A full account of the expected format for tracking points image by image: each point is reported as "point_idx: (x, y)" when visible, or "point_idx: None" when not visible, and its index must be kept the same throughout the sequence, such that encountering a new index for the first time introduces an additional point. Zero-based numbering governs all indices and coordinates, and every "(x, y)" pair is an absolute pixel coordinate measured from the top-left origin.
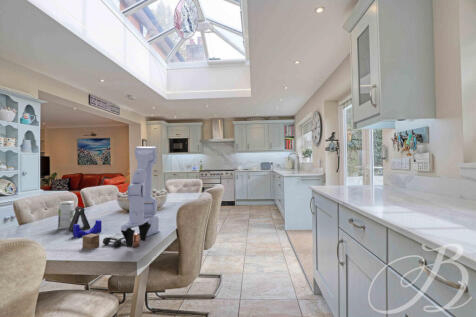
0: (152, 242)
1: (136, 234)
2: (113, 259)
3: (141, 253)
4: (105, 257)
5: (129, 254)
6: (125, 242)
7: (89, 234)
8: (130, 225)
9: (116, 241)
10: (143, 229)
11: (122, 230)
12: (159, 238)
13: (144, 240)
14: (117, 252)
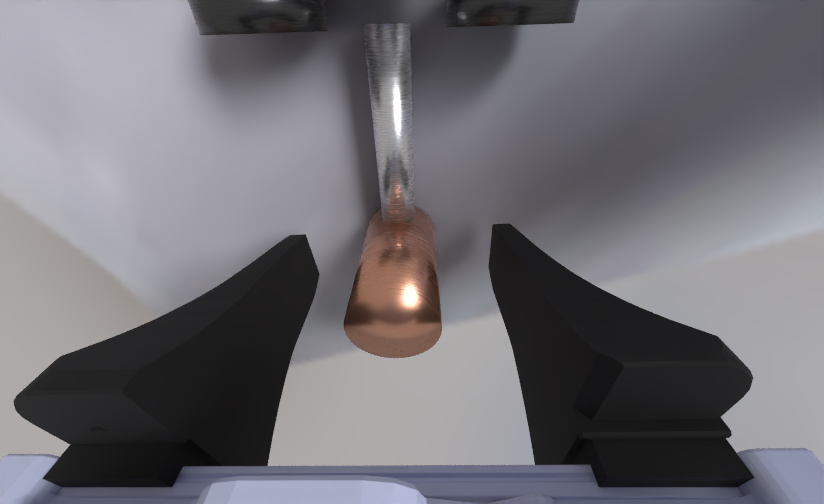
0: None
1: (384, 338)
2: (132, 285)
3: (324, 344)
4: (74, 206)
5: None
6: (369, 83)
7: None
8: None
9: (202, 29)
10: (534, 373)
11: (55, 421)
12: (708, 242)
13: (491, 274)
14: (201, 196)
